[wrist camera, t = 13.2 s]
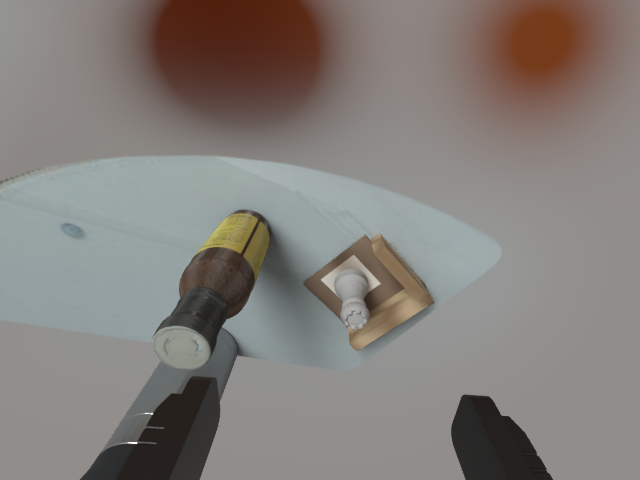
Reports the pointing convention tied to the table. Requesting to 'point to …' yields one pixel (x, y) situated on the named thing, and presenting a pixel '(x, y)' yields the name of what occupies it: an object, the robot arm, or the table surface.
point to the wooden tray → (374, 288)
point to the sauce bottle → (213, 290)
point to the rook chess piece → (352, 297)
